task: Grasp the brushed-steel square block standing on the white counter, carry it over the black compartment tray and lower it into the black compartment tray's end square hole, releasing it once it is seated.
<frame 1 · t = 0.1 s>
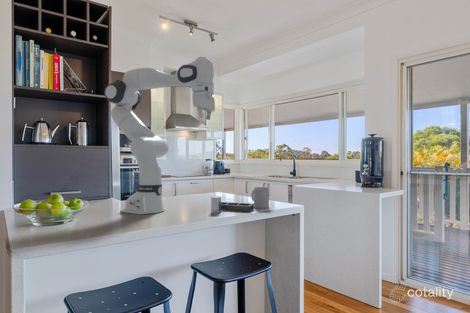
hand: (204, 118, 148), 48 cm above the table, fingers open, 8 cm apart
mug: (259, 207, 171), on the table
steel block: (216, 212, 155), on the table
black compartment tray: (233, 209, 163), on the table
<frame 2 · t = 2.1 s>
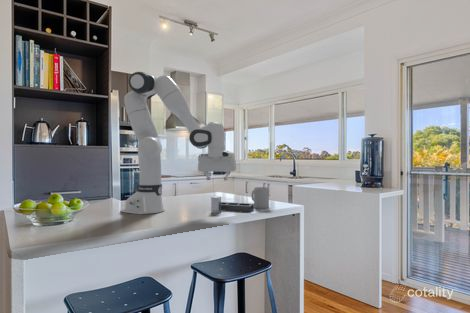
hand: (217, 180, 155), 17 cm above the table, fingers open, 8 cm apart
nothing on the table moved.
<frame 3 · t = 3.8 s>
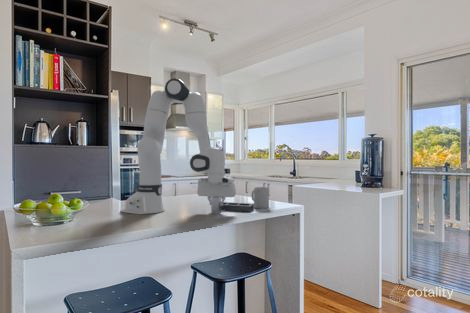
hand: (216, 205, 155), 4 cm above the table, fingers closed on steel block, 4 cm apart
steel block: (216, 212, 155), on the table, touching gripper
everything else where it was.
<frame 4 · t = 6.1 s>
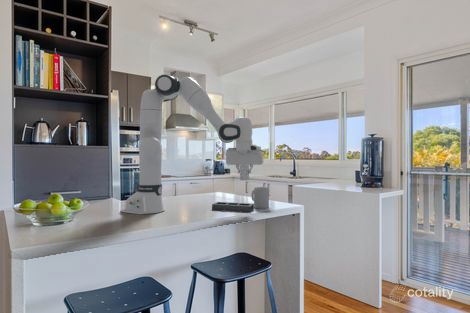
hand: (244, 173, 160), 20 cm above the table, fingers closed on steel block, 4 cm apart
steel block: (244, 179, 160), point 16 cm above the table, touching gripper
everything else where it was.
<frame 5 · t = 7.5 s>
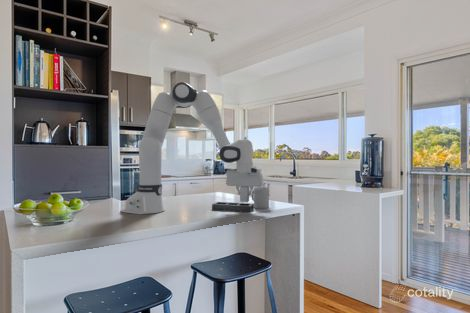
hand: (244, 194, 161), 8 cm above the table, fingers closed on steel block, 4 cm apart
steel block: (244, 201, 161), point 5 cm above the table, touching gripper
everything else where it was.
when the fingers open (5 cm above the table, at t = 8.5 s): steel block drops 2 cm, resting in black compartment tray.
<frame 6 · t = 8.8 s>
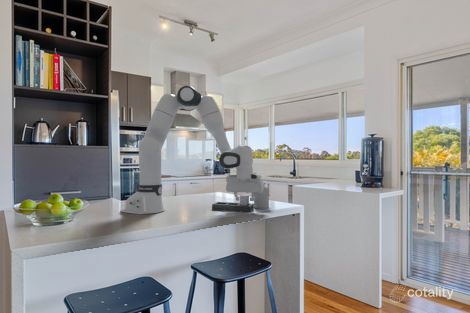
hand: (244, 200, 161), 5 cm above the table, fingers open, 6 cm apart
steel block: (244, 210, 161), resting in black compartment tray
everything else where it was.
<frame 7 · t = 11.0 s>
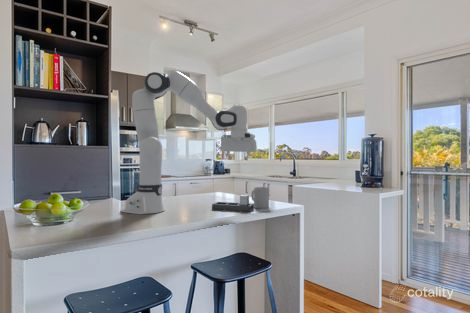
hand: (237, 160, 165), 27 cm above the table, fingers open, 8 cm apart
nothing on the table moved.
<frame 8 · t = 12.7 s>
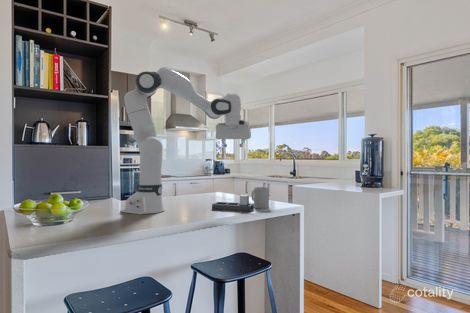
hand: (233, 147, 169), 34 cm above the table, fingers open, 8 cm apart
nothing on the table moved.
at the end: steel block 0.1 cm from the target spot on the black compartment tray, point 0.0 cm above the black compartment tray's base; steel block tilted 0°; the gripper is holding nothing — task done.
